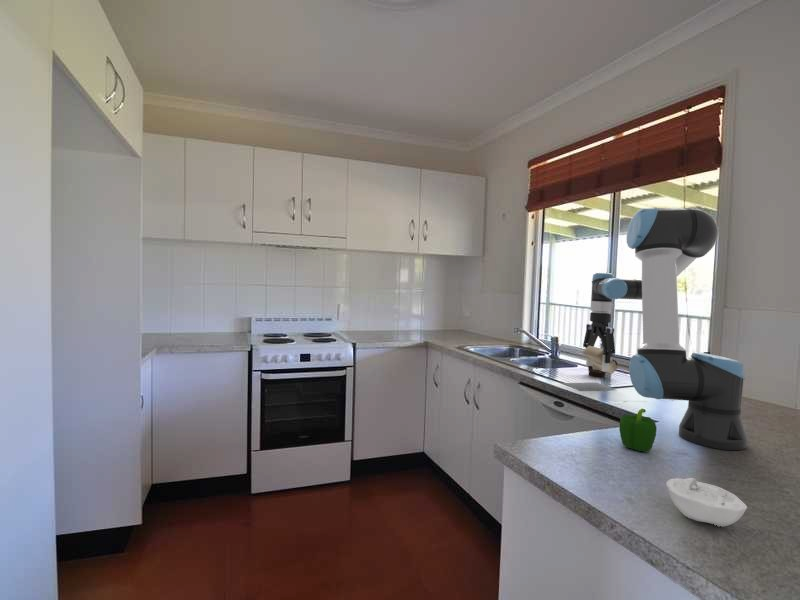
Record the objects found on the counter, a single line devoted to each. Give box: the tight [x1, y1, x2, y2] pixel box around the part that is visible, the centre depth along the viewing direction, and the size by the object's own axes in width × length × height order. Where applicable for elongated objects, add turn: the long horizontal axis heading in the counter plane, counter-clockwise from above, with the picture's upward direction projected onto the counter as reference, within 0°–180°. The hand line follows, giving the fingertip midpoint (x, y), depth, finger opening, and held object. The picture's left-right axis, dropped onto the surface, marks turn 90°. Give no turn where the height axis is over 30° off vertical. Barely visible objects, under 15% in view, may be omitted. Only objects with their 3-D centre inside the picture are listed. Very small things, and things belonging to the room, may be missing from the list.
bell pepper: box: [618, 408, 657, 453], centre depth 110 cm, size 8×8×10 cm
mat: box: [562, 381, 616, 392], centre depth 172 cm, size 16×12×1 cm
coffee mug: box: [587, 359, 618, 379], centre depth 191 cm, size 12×9×10 cm
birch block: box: [582, 346, 619, 375], centre depth 173 cm, size 4×9×10 cm
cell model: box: [665, 477, 748, 528], centre depth 78 cm, size 10×12×7 cm
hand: (597, 368), depth 173 cm, fingers closed on birch block, 9 cm apart
